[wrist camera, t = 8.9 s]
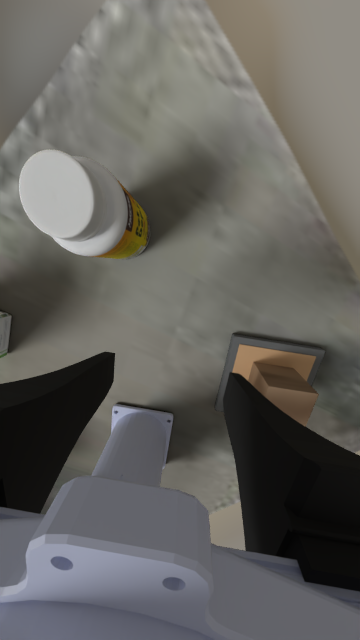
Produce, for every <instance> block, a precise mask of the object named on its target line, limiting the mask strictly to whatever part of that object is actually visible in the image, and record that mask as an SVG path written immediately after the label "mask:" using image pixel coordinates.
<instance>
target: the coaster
mask: <svg viewBox="0 0 360 640" xmlns="http://www.w3.org/2000/svg"><path fill="white" fill-rule="evenodd" d="M324 354H325V350H323V349H322V348H319V347H313V346H306V345H300V344H294V343H288V342H282V341H275V340H269V339H263V338H257V337H250V336H244V335H238V334H232V338H231V342H230V346H229V350H228V354H227V358H226V362H225V366H224V371H223V375H222V379H221V383H220V387H219V391H218V395H217V399H216V404H215V410H216V411H221V412H224V408H223V397H224V393H225V389H226V385H227V381H228V377H229V373H230V372H232V373H239V374H241V375H242V376H243V377H244V378H245V379H246V380H247V381H248V379H249V375H250V372H251V368H252V365H253V362H258V363H264V364H271V365H277V366H284V367H290V368H294V369H295V370H296V371H297V372H298V373H299V374H300V375H301V376H302V377H303V378H304V379H305V380H306V381H307V382H308V383H309V385H310V386H312V383H313V381H314V379H315V376H316V374H317V371H318V369H319V366H320V364H321V361H322V359H323V356H324Z"/></svg>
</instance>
